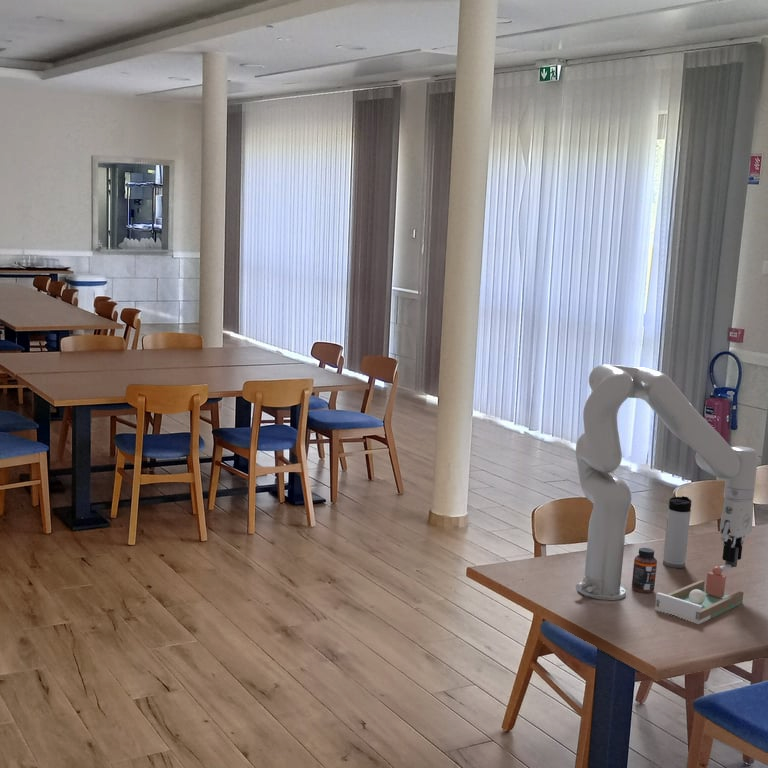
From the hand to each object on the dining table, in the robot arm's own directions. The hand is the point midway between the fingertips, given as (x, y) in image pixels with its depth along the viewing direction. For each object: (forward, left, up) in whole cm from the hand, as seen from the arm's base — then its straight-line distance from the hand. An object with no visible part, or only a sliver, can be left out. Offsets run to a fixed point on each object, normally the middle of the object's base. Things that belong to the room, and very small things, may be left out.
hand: (731, 559), depth 276 cm
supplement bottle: (-17, +16, -10) cm, 25 cm away
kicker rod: (-4, 0, -8) cm, 9 cm away
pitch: (-16, 0, -10) cm, 19 cm away
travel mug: (+11, +22, -10) cm, 27 cm away
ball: (-18, 0, -7) cm, 19 cm away
